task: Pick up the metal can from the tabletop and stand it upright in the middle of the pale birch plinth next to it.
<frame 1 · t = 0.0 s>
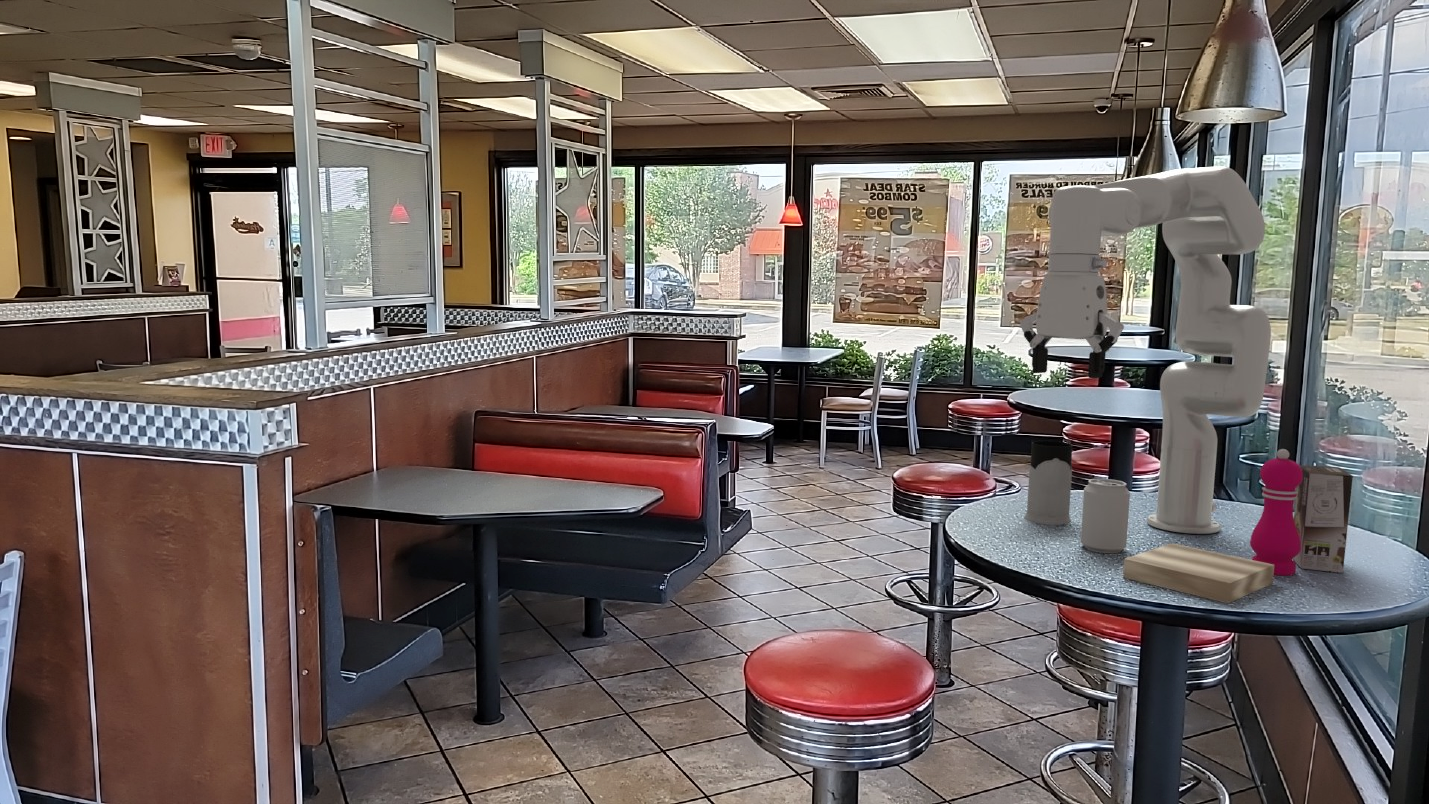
hand: (1066, 375, 160), 31 cm above the table, tool pointing down, fingers open, 9 cm apart
pepper mill: (1272, 571, 164), on the table
can: (1102, 549, 176), on the table
coffee box: (1316, 565, 168), on the table
plinth: (1197, 580, 157), on the table
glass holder: (1044, 517, 200), on the table
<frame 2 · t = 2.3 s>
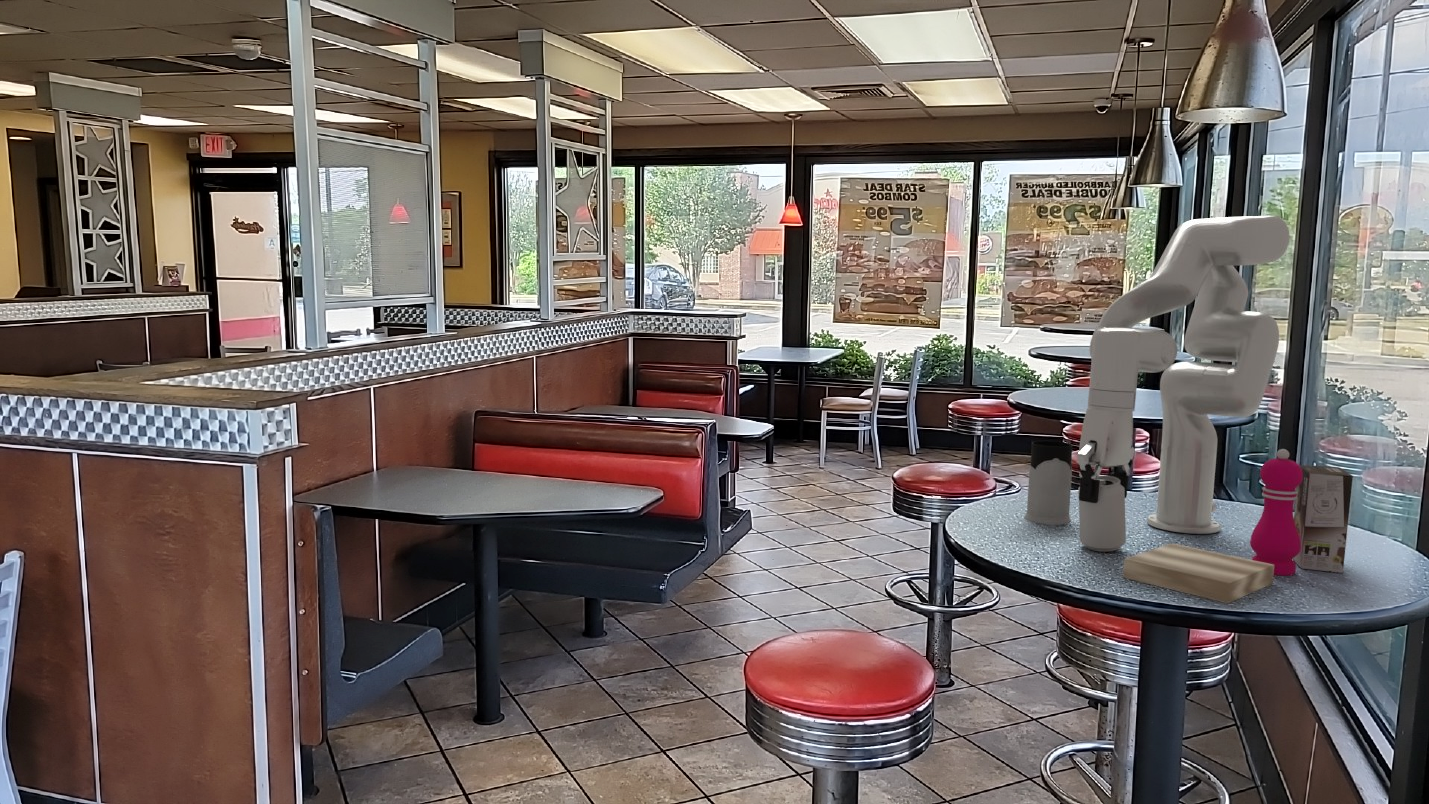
hand: (1102, 499, 174), 9 cm above the table, tool pointing down, fingers open, 9 cm apart
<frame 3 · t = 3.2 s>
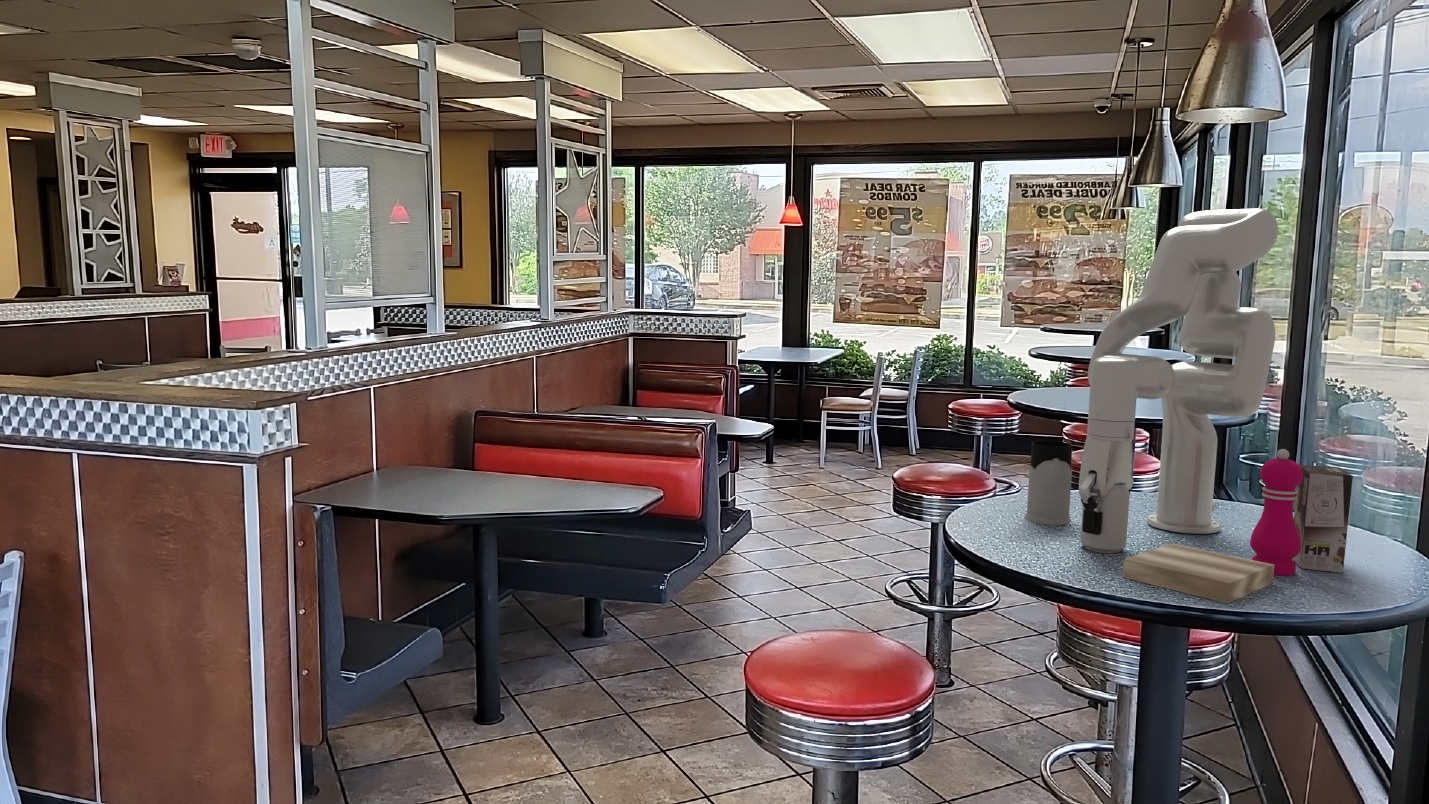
hand: (1103, 529, 175), 3 cm above the table, tool pointing down, fingers closed on can, 7 cm apart
can: (1102, 549, 176), on the table, touching gripper
everything else where it was.
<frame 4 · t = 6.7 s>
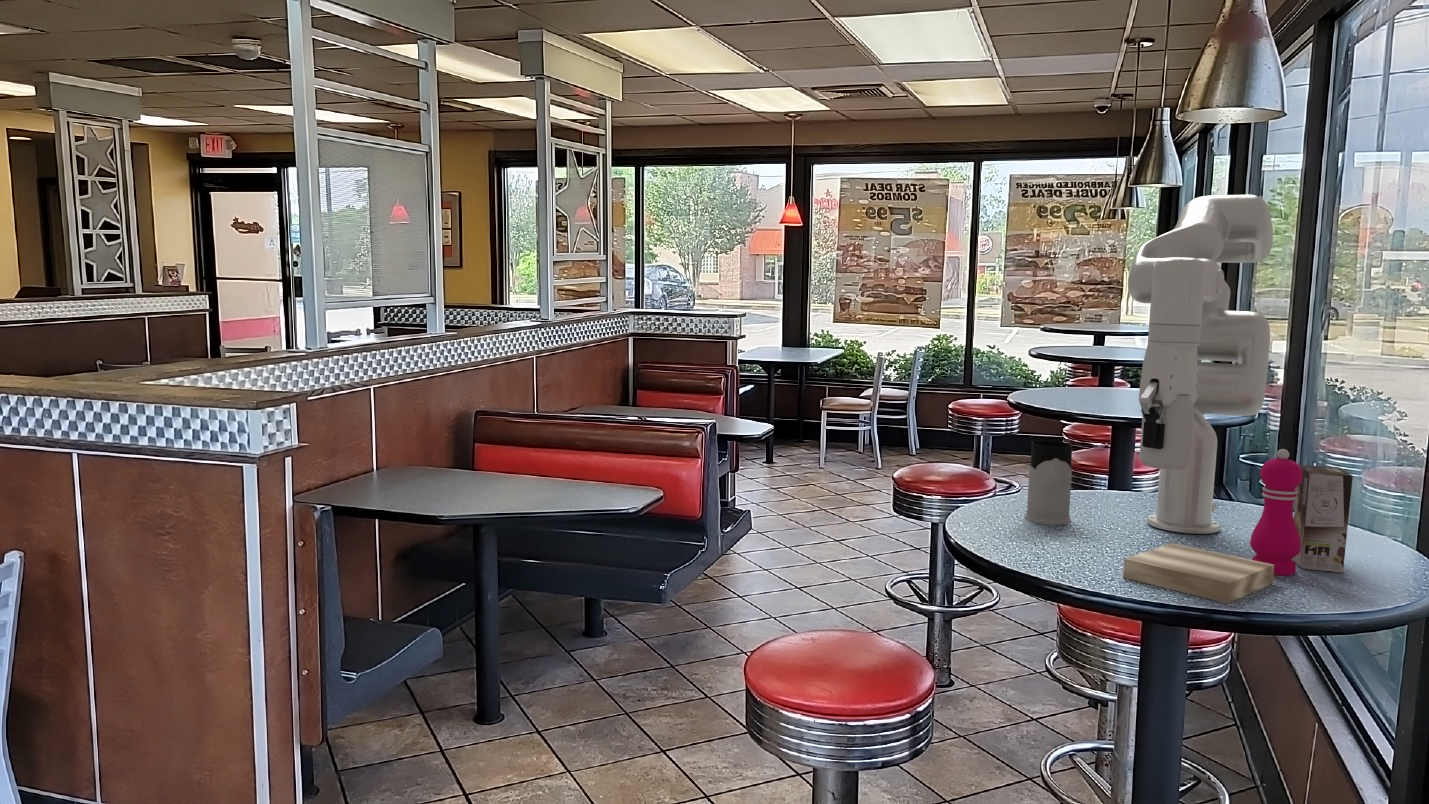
hand: (1165, 445, 162), 20 cm above the table, tool pointing down, fingers closed on can, 7 cm apart
can: (1163, 467, 162), point 16 cm above the table, touching gripper
everything else where it was.
when the fingers open (8 cm above the table, at t = 10.1 s): can drops 1 cm, resting on plinth.
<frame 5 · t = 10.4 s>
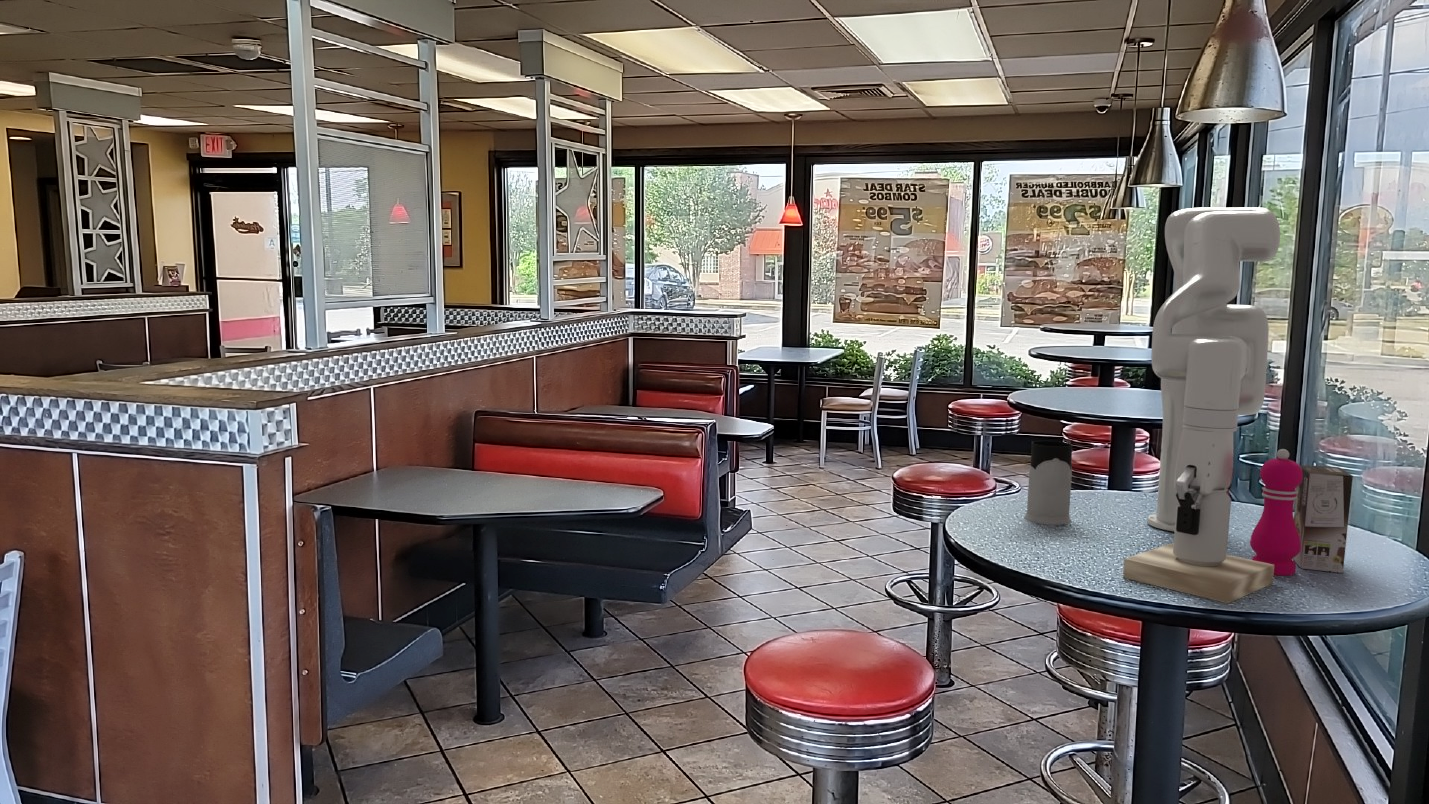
hand: (1201, 528, 156), 8 cm above the table, tool pointing down, fingers open, 9 cm apart
can: (1198, 562, 157), point 3 cm above the table, touching plinth
everything else where it was.
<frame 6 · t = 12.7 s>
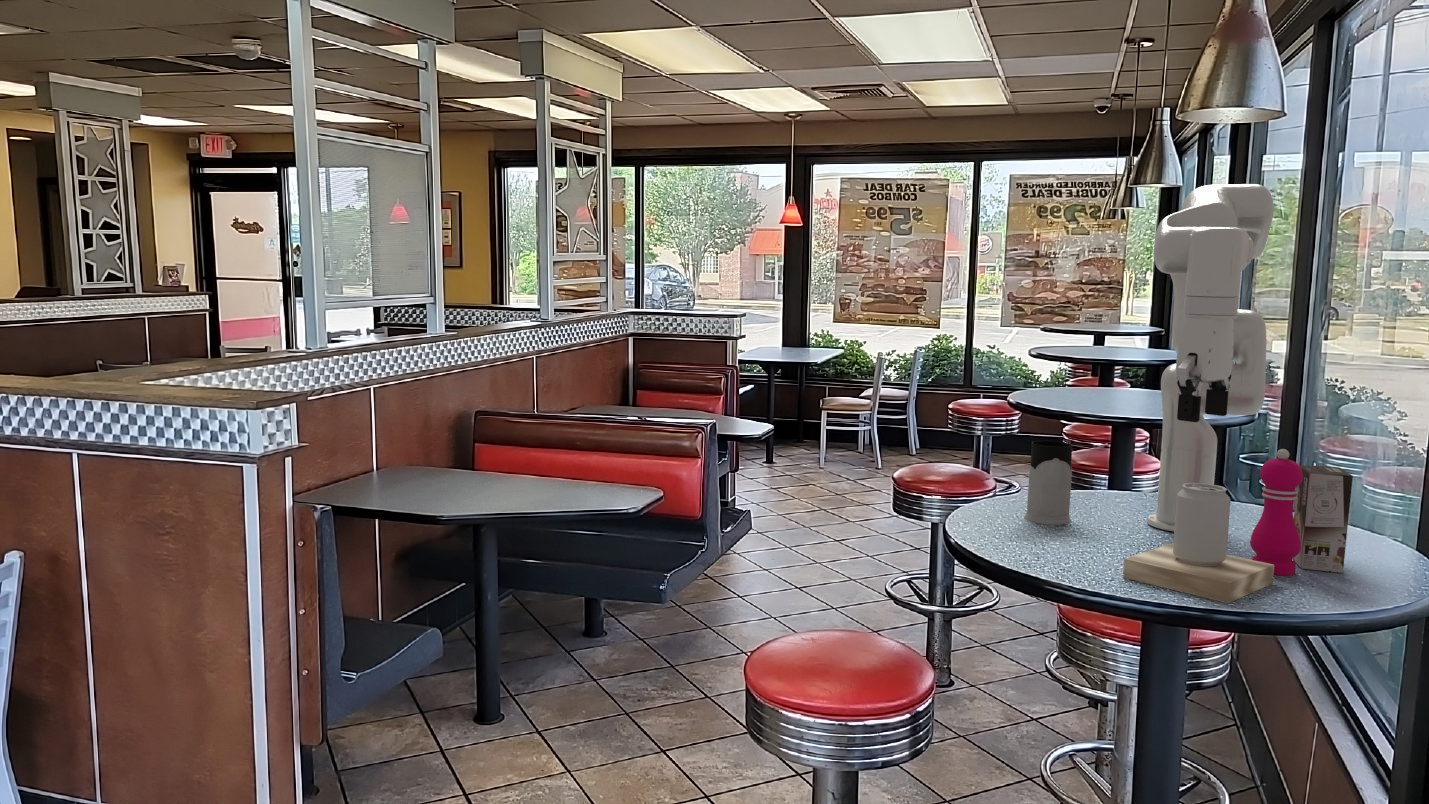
hand: (1202, 417, 158), 25 cm above the table, tool pointing down, fingers open, 9 cm apart
nothing on the table moved.
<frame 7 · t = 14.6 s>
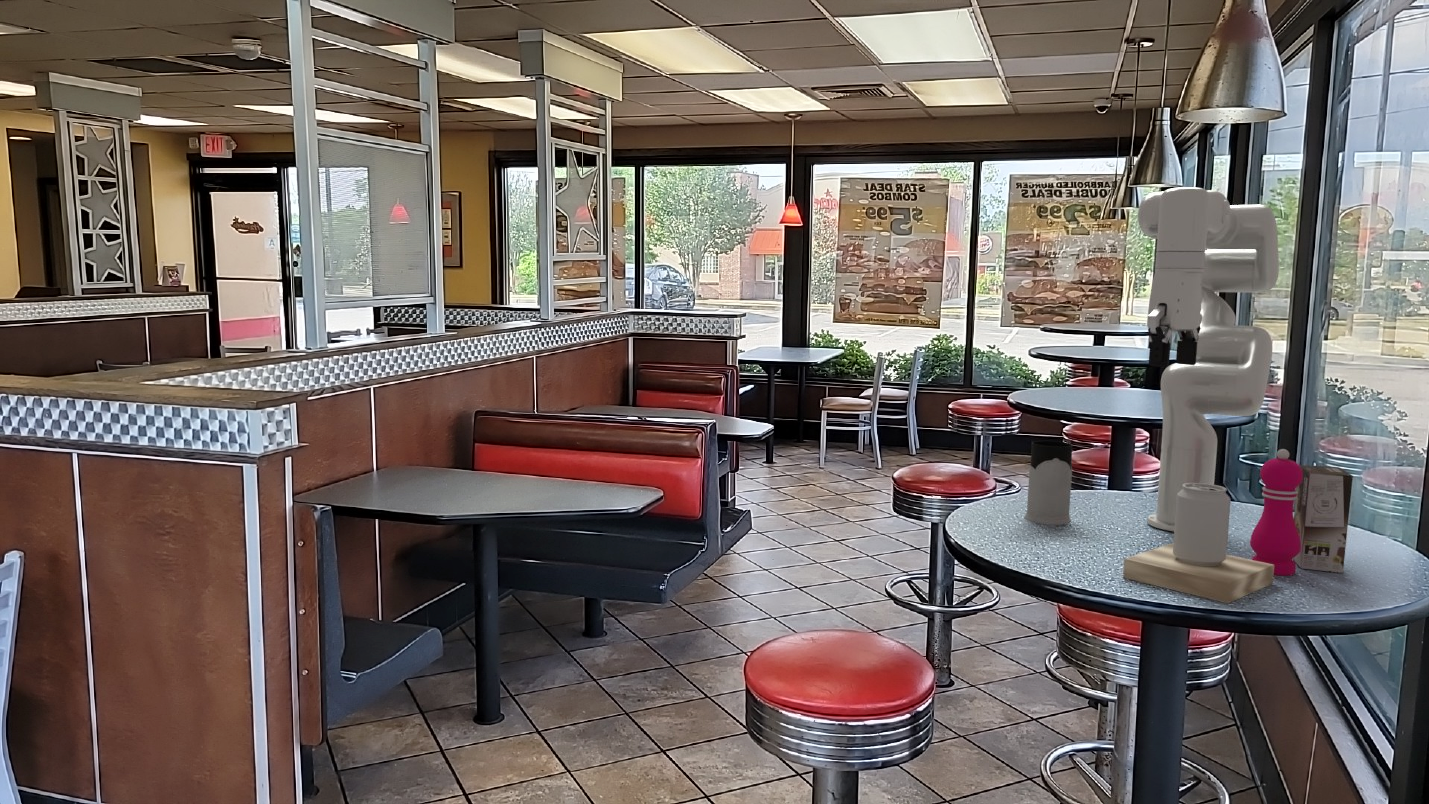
hand: (1172, 365, 170), 32 cm above the table, tool pointing down, fingers open, 9 cm apart
nothing on the table moved.
at the end: can inside the target area on the plinth (0.4 cm from its centre), point 2.8 cm above the plinth's base; can tilted 0°; the gripper is holding nothing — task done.
